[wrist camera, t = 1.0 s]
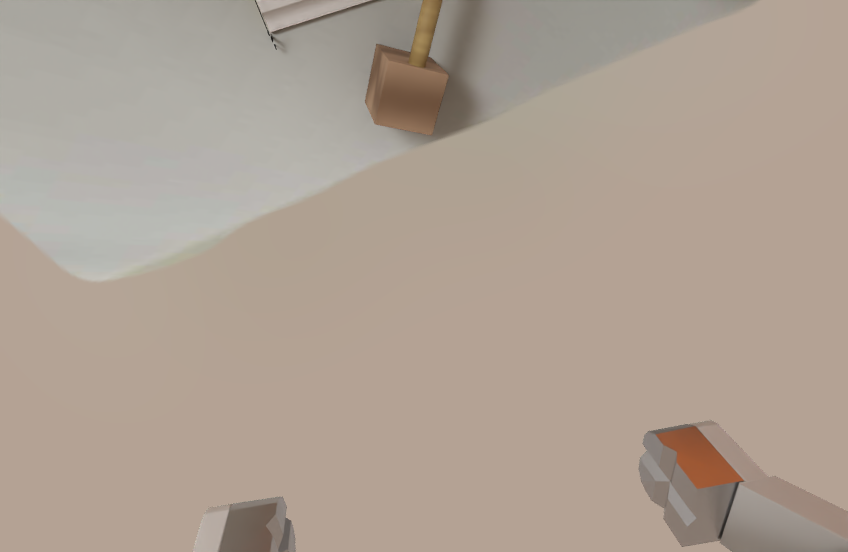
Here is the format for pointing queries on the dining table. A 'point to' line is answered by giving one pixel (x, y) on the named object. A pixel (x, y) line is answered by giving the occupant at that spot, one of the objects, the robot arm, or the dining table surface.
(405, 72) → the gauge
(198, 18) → the dining table surface
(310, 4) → the baseboard molding
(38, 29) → the dining table surface
